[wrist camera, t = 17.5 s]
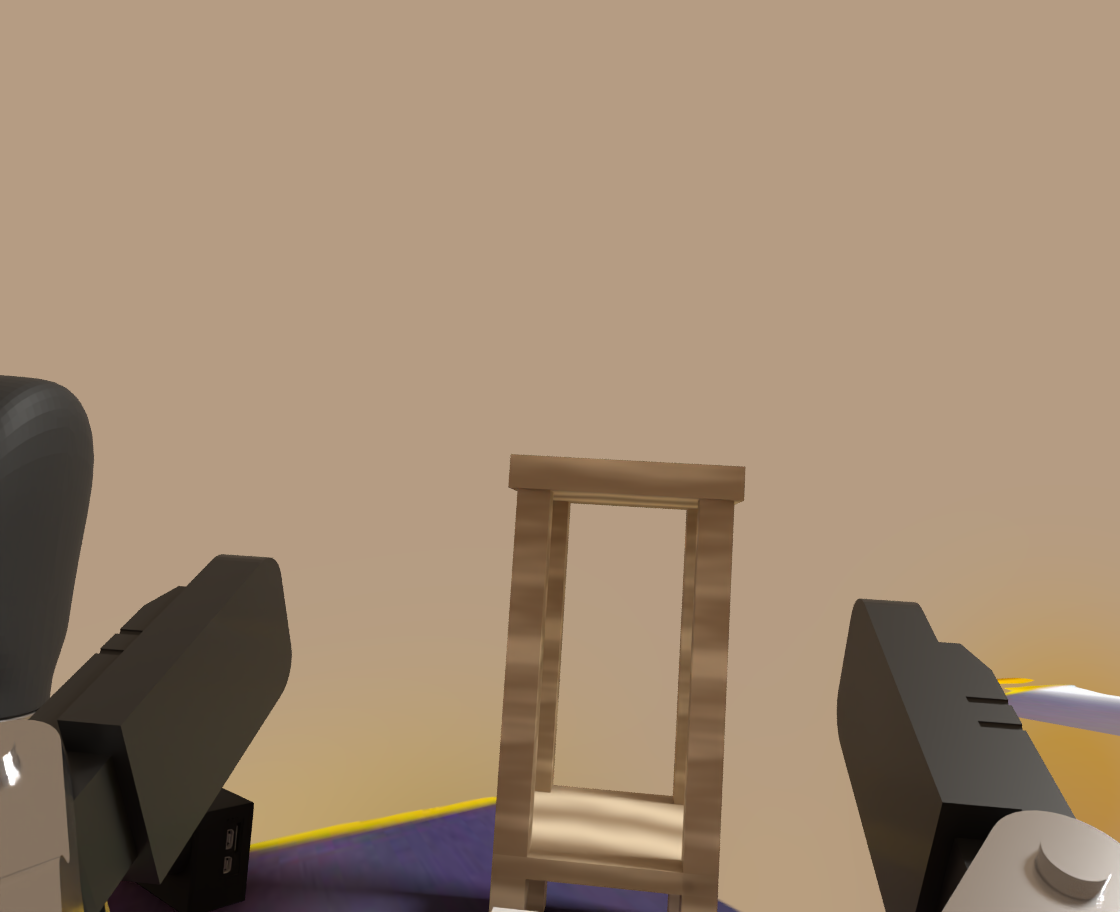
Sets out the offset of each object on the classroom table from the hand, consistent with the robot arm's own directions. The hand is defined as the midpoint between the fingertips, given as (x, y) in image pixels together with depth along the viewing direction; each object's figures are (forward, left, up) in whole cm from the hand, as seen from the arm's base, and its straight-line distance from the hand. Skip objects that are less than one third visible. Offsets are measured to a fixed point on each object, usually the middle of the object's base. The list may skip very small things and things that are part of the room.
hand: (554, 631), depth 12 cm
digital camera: (-53, +26, -26) cm, 65 cm away
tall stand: (-25, +39, -26) cm, 53 cm away
